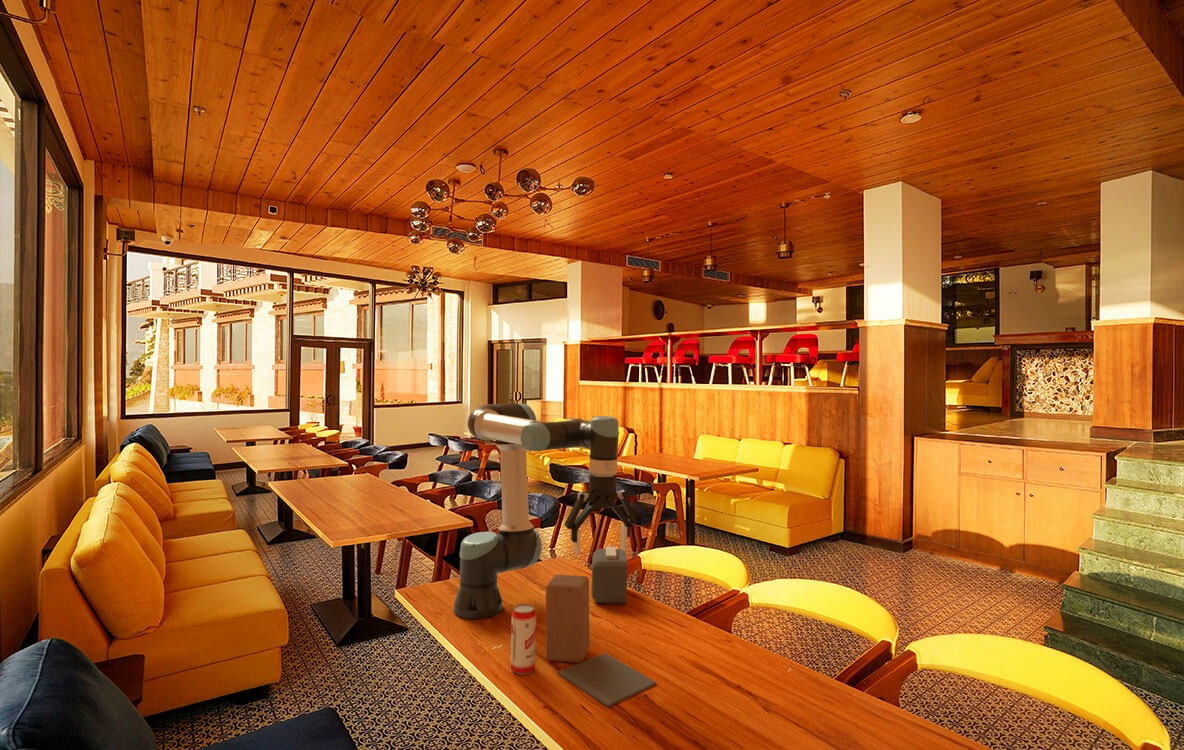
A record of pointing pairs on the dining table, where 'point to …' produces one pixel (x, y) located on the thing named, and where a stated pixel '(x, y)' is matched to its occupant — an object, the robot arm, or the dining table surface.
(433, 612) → the dining table surface
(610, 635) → the dining table surface
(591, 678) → the mat
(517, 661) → the beer can
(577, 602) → the wooden block
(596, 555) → the alarm clock
